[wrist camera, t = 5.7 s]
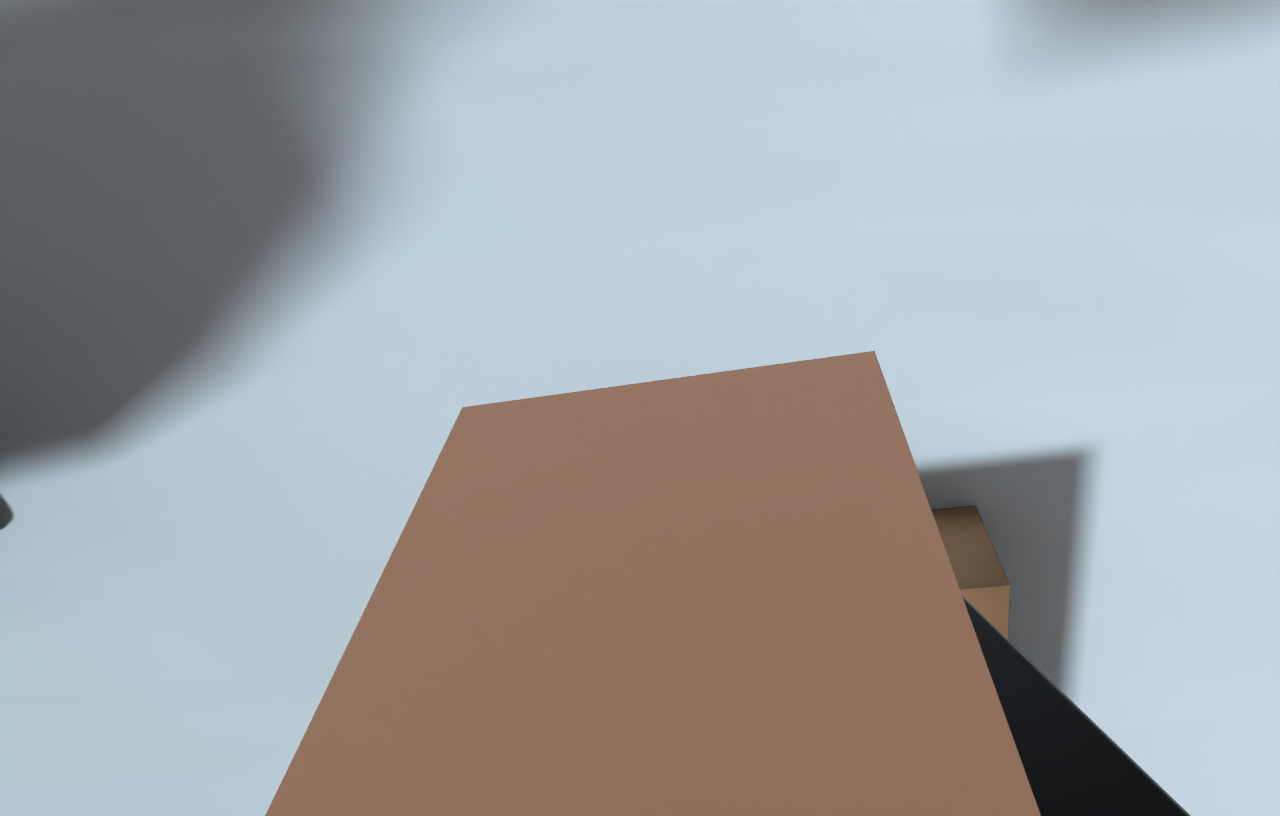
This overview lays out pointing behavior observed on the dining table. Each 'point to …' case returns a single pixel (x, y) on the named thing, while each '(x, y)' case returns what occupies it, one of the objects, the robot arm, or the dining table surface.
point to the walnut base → (975, 564)
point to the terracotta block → (668, 619)
